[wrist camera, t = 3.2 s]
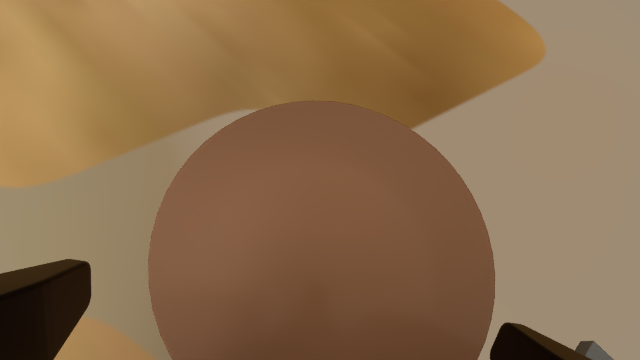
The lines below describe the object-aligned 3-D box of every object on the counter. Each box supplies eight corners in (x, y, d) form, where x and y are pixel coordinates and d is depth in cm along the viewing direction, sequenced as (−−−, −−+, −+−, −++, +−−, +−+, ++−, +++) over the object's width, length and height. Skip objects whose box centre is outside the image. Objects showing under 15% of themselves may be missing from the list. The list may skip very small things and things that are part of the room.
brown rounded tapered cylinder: (276, 411, 16) (331, 566, 4) (197, 314, 17) (70, 231, 5) (360, 319, 17) (554, 256, 6) (285, 237, 18) (332, 53, 7)
